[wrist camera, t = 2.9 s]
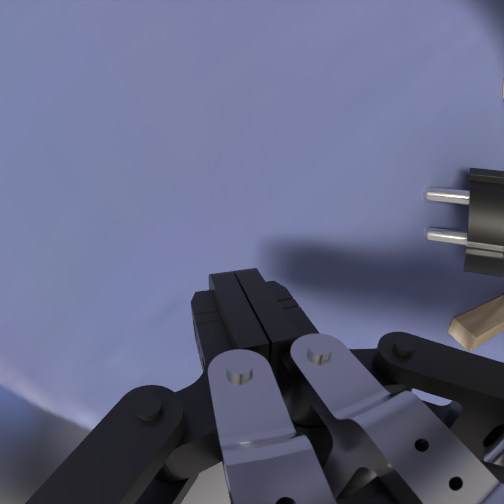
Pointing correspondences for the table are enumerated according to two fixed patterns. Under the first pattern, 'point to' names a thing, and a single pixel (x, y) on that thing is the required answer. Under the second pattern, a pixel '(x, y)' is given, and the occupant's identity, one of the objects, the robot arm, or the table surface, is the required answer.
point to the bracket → (479, 321)
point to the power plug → (476, 221)
